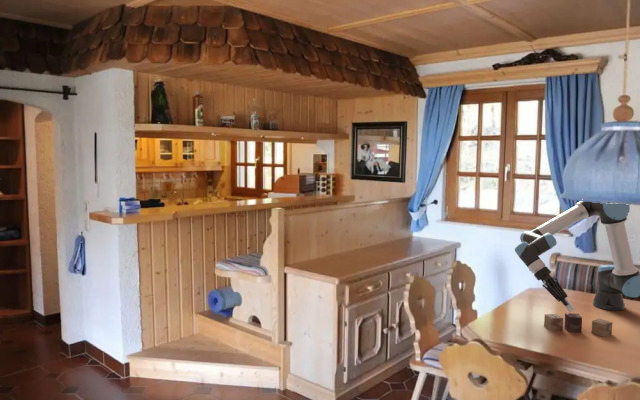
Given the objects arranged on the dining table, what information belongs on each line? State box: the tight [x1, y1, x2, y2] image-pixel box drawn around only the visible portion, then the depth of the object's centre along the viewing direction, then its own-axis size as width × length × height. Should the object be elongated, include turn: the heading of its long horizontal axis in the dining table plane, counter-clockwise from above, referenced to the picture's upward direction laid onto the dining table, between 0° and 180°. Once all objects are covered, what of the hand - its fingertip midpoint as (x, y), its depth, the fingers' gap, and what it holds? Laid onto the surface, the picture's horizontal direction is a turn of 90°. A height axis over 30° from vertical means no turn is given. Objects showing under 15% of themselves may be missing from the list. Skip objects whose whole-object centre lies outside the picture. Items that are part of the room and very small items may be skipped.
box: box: [564, 312, 583, 333], centre depth 235 cm, size 6×6×7 cm
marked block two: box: [543, 313, 564, 331], centre depth 238 cm, size 6×6×6 cm
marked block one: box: [591, 318, 613, 338], centre depth 231 cm, size 6×6×6 cm
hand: (572, 310), depth 235 cm, fingers closed
